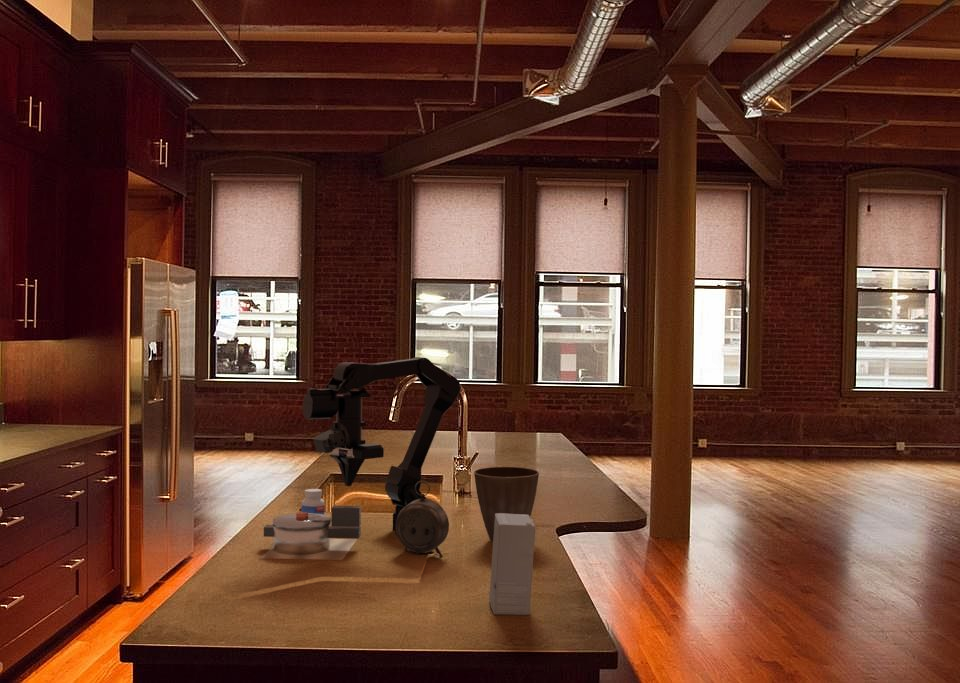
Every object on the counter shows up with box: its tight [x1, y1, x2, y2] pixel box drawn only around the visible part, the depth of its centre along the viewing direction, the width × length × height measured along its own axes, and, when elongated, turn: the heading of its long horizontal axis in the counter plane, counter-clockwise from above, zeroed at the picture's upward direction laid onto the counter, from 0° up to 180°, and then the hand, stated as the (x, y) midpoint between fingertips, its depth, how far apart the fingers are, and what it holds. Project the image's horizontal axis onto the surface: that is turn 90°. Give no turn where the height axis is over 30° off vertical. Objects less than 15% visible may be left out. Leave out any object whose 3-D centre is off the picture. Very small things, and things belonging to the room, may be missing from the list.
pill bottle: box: [300, 488, 325, 515], centre depth 212 cm, size 6×5×10 cm
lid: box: [272, 505, 362, 530], centre depth 192 cm, size 19×12×4 cm, turn 91°
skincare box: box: [488, 513, 536, 616], centre depth 154 cm, size 8×7×16 cm
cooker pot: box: [263, 524, 362, 555], centre depth 192 cm, size 20×12×5 cm, turn 88°
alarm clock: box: [395, 480, 450, 558], centre depth 189 cm, size 11×5×16 cm, turn 73°
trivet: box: [260, 538, 358, 561], centre depth 192 cm, size 17×18×1 cm
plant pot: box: [473, 466, 540, 543], centre depth 204 cm, size 15×15×16 cm
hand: (348, 485), depth 202 cm, fingers closed
